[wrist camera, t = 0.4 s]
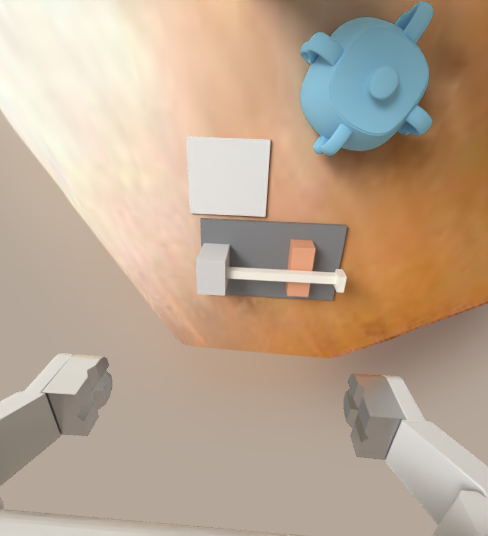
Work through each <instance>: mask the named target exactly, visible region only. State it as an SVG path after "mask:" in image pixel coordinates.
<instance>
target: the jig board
mask: <svg viewBox="0 0 488 536" xmlns="http://www.w3.org/2000/svg"><path fill="white" fill-rule="evenodd" d="M200 221H201V250H200V252H199V254H198V256H197V258H196V278H197V294H206V295H223V296H225V295H243V296H260V297H278V298H296V299H313V300H331V301H333V297H334V292H335V287H334V285H333V284H319V283H310V288H309V295H308V297H299V296H287V292H286V282H283V281H265V280H246V279H228V278H226V268H227V267H241V268H260V269H279V270H287V268H288V259H289V250H290V241H291V239H294V240H312V241H313V244H314V246H315V255H314V262H313V268H312V271H316V272H335V270H336V269H339V266H340V261H341V256H342V251H343V246H344V241H345V236H346V231H347V226H346V225H337V224H316V223H295V222H274V221H253V220H233V219H212V218H201V220H200Z"/></svg>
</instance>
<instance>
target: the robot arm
mask: <svg viewBox="0 0 488 536" xmlns="http://www.w3.org/2000/svg"><path fill="white" fill-rule="evenodd" d="M108 366H109V364H108V360H107V358H105V357H100V356H90V355H79V354H65V353H60V354H59V355H56V356H55V357H54V358H53V360H52V361H51V362H50V363H49V364H48V365H47V366H46V367H45V368H44V370H43V371H42V372H41V373H40V374H39V375H38V376H37V377H36V378H35V380H34V381H33V382H32V383H31V384H30V385H29V386H28V388H27V389H26V390H25V391H24V392H17V393H15V394H13V395H11V396H10V397H8V398H6V399H4V400H2V401H0V486H1V485H2V484H4V483H5V482H6V481H7V480H8V479H10V478H11V477H12V476H13V475H15V474H16V473H17V472H18V471H19V470H21V469H22V468H23V467H24V466H25V465H26V464H28V463H29V462H30V461H31V460H33V459H34V458H35V457H36V456H37V455H39V454H40V453H41V452H42V451H44V450H45V449H46V448H47V447H48V446H50V445H51V444H52V443H53V442H54V441H56V440H57V439H58V438H59V437H60V436H61V435H82V436H88V435H89V433H90V431H91V429H92V428H93V426H94V424H95V422H96V420H97V419H98V411H97V410H98V409H100V408H101V407H102V406H104V405H105V404H106V402H107V401H108V399H109V397H110V393H111V390H112V377H111V375H110V374H109V373H108V372H107V371H106V370H107V368H108ZM348 383H349V386H350V389H349V390H348V391H346V392H345V396H344V414H345V417H346V421H347V423H348V424H349V425H350V426H351V427H352V428H353V429H352V432H351V439H352V443H353V446H354V449H355V453H356V456H357V457H364V458H373V459H383V460H385V462H386V463H387V464H388V466H389V467H390V468H391V469H392V470H393V471H394V473H395V474H396V475H397V476H398V478H399V479H400V480H401V481H402V482H403V484H404V485H405V486H406V487H407V488H408V490H409V491H410V492H411V493H412V494H413V496H414V497H415V498H416V499H417V500H418V501H419V503H420V504H421V505H422V506H423V507H424V509H425V510H426V511H427V512H428V513H429V515H430V516H431V517H432V518H433V520H434V521H435V522H436V523H437V524H438V527H437V529H436V531H435V532H434V533H433V535H432V536H488V467H487V466H486V465H485V464H484V463H482V462H481V461H480V460H479V459H477V458H476V457H475V456H474V455H472V454H471V453H470V452H469V451H467V450H466V449H465V448H463V447H462V446H461V445H460V444H458V443H457V442H456V441H454V440H453V439H452V438H451V437H450V436H448V435H447V434H446V433H444V432H443V431H442V430H441V429H439V428H438V427H437V426H436V425H434V424H433V423H432V422H428V421H425V419H424V417H423V415H422V413H421V412H420V410H419V408H418V406H417V405H416V403H415V401H414V399H413V397H412V396H411V394H410V392H409V390H408V389H407V387H406V385H405V383H404V381H403V380H402V378H400V377H398V376H384V375H383V376H381V375H367V374H351V375H350V377H349V380H348ZM60 434H61V435H60ZM3 508H4V507H3V501H2V500H1V498H0V536H303V535H291V534H280V533H268V532H257V531H246V530H235V529H223V528H212V527H200V526H188V525H177V524H166V523H153V522H143V521H131V520H119V519H108V518H97V517H85V516H73V515H62V514H51V513H39V512H27V511H16V510H5V509H3Z"/></svg>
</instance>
